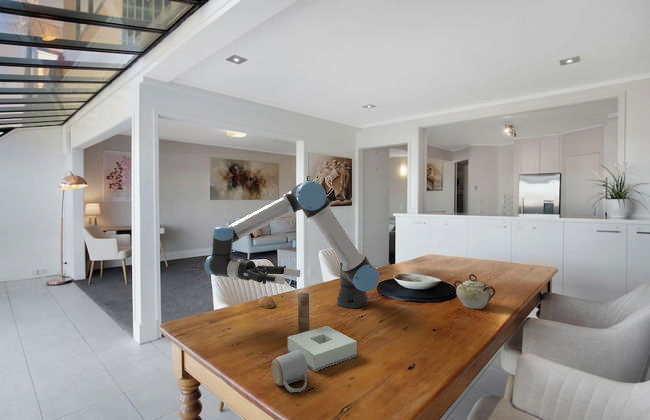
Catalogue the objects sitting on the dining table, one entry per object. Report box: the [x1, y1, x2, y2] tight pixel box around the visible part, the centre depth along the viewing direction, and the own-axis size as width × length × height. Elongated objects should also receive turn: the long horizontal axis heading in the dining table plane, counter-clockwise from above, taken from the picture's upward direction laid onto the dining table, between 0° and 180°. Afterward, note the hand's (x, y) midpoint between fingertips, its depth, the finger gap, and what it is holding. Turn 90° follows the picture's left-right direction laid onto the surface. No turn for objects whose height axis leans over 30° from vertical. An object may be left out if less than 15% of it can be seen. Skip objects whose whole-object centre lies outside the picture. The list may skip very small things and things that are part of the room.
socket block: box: [287, 325, 358, 372], centre depth 107 cm, size 16×16×5 cm
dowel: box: [297, 292, 310, 334], centre depth 119 cm, size 4×4×16 cm
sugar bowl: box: [453, 273, 496, 310], centre depth 153 cm, size 20×15×15 cm
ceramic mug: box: [270, 350, 309, 393], centre depth 90 cm, size 11×8×8 cm
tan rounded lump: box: [258, 296, 276, 309], centre depth 156 cm, size 9×7×4 cm
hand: (292, 276), depth 121 cm, fingers open, 13 cm apart
